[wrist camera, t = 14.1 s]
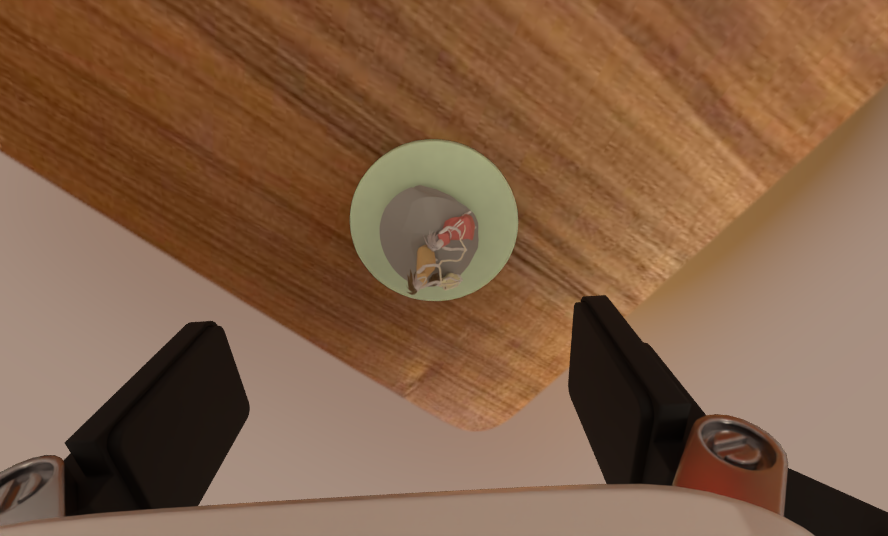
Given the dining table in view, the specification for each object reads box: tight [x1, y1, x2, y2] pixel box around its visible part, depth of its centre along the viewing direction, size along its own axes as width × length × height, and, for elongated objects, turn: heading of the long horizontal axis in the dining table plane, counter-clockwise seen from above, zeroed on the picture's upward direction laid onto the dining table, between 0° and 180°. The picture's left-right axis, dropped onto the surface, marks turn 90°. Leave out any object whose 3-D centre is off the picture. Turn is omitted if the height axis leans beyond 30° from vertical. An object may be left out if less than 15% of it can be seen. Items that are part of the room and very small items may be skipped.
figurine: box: [380, 185, 479, 295], centre depth 18 cm, size 5×4×6 cm
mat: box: [350, 139, 518, 301], centre depth 21 cm, size 8×8×1 cm
